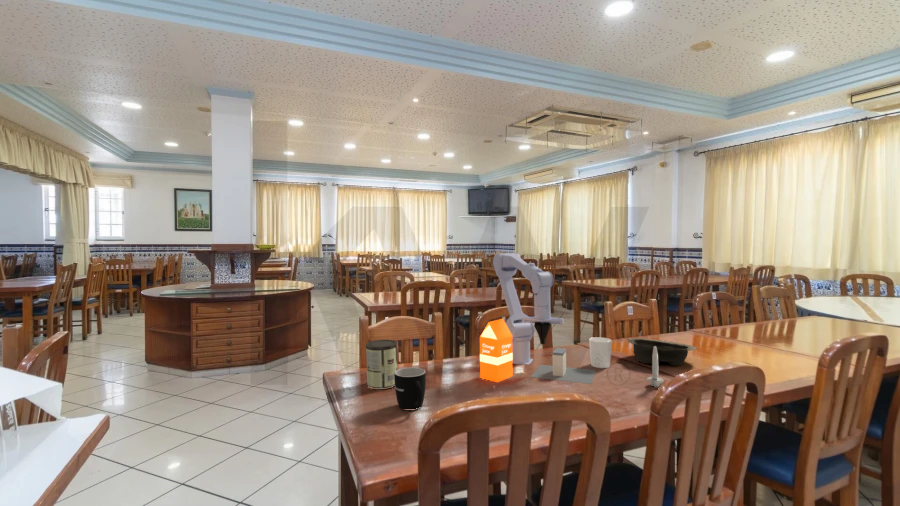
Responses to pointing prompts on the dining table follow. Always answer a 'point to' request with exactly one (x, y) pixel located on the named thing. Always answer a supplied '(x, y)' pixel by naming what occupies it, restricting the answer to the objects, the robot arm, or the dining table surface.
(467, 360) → the dining table surface
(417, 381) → the mug
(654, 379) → the screw
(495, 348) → the orange juice
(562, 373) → the beige rectangular block
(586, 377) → the mat
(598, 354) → the white cup
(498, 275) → the robot arm
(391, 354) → the coffee can
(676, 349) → the stone bowl
